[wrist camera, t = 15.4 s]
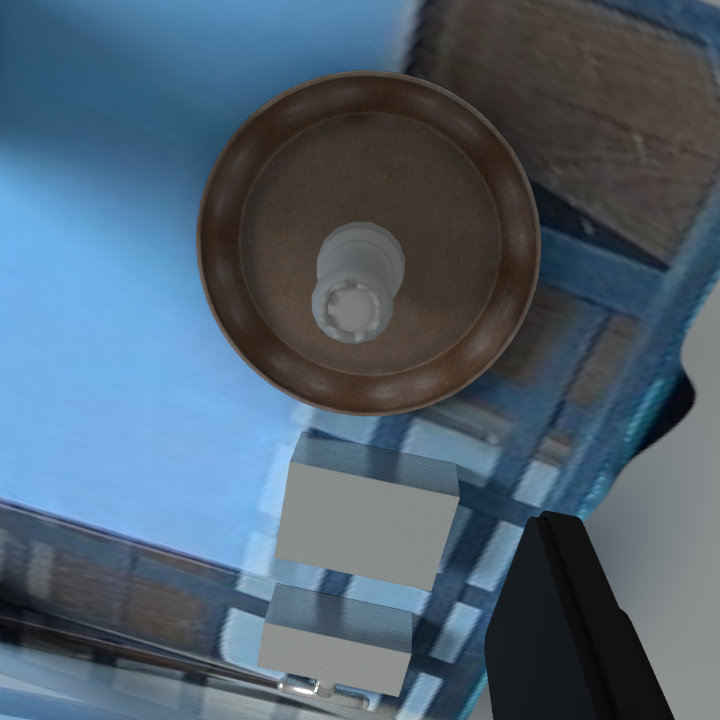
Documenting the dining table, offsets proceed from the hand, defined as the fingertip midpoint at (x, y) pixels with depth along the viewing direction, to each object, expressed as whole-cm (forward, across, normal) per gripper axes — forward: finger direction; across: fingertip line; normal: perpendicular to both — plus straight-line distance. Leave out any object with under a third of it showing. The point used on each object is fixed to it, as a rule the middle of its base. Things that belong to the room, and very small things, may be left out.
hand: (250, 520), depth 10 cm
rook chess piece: (+21, 0, 0) cm, 21 cm away
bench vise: (+23, -3, +22) cm, 32 cm away
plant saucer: (+24, 0, 0) cm, 24 cm away
